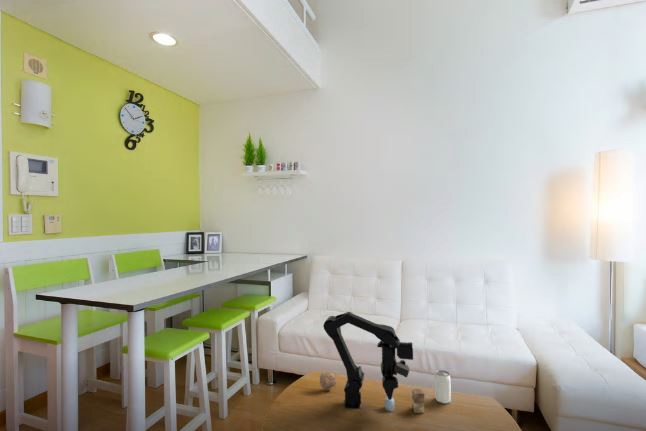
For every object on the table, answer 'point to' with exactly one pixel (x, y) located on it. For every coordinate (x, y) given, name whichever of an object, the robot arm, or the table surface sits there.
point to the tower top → (418, 395)
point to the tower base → (418, 407)
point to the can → (442, 387)
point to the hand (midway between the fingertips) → (389, 393)
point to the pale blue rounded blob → (389, 404)
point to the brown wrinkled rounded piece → (327, 380)
